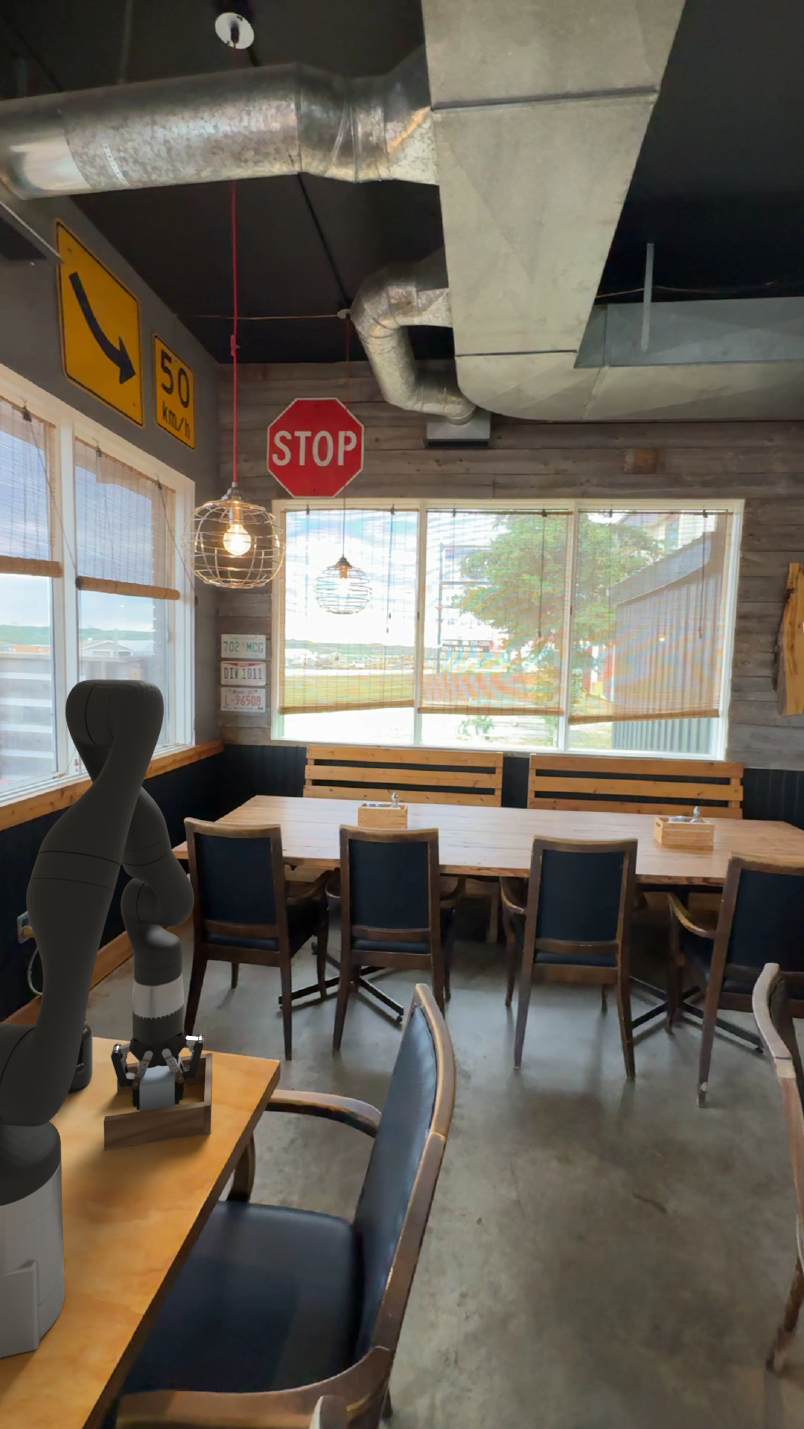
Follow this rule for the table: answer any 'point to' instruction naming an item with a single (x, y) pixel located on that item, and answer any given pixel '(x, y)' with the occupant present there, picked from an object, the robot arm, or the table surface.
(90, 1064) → the supplement bottle
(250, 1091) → the table surface
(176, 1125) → the brown three-sided frame
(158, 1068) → the slate block
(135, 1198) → the table surface
